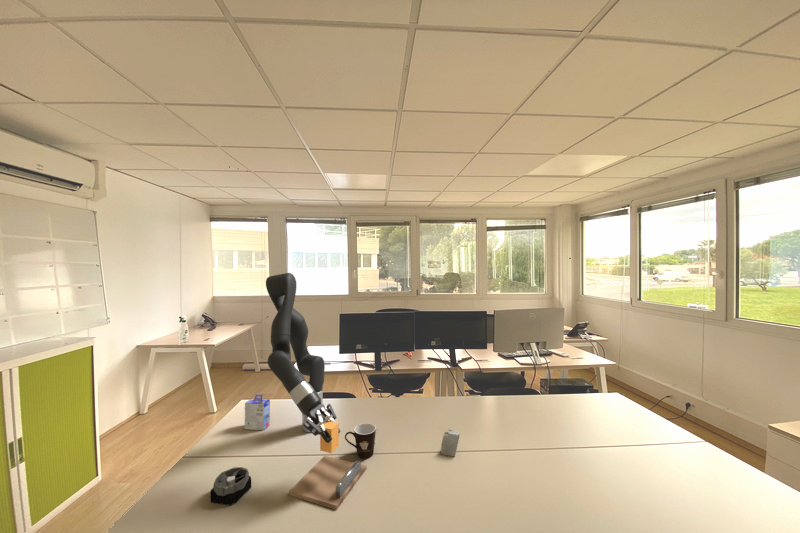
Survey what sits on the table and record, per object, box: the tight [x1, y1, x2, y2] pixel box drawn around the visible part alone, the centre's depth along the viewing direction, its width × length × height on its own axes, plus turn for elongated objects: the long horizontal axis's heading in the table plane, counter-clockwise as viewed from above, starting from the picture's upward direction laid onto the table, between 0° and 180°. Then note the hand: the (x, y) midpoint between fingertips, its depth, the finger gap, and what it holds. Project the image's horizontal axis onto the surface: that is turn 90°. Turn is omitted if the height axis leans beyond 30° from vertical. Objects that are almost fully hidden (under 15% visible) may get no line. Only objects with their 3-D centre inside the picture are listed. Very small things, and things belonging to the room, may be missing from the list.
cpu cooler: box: [210, 466, 252, 506], centre depth 99 cm, size 10×6×10 cm
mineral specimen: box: [440, 428, 461, 457], centre depth 120 cm, size 7×9×8 cm
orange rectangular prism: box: [319, 420, 340, 454], centre depth 104 cm, size 4×4×8 cm
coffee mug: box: [344, 422, 377, 460], centre depth 120 cm, size 12×9×10 cm
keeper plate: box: [288, 455, 368, 510], centre depth 104 cm, size 20×18×5 cm
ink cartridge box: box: [244, 394, 271, 431], centre depth 141 cm, size 10×6×14 cm, turn 83°
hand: (334, 437), depth 103 cm, fingers closed on orange rectangular prism, 4 cm apart
